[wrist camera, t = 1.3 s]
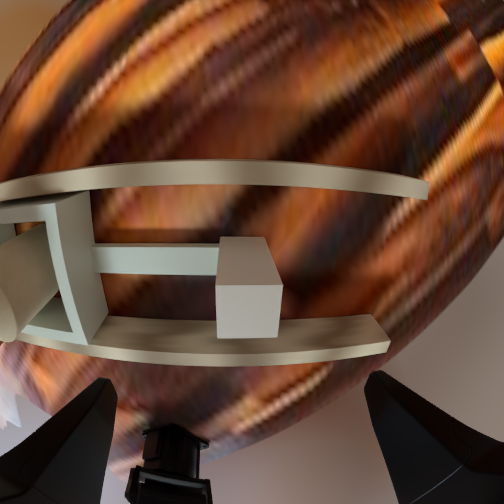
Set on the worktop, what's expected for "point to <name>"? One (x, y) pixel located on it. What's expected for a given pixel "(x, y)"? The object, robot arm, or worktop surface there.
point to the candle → (25, 280)
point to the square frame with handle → (141, 271)
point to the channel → (205, 332)
